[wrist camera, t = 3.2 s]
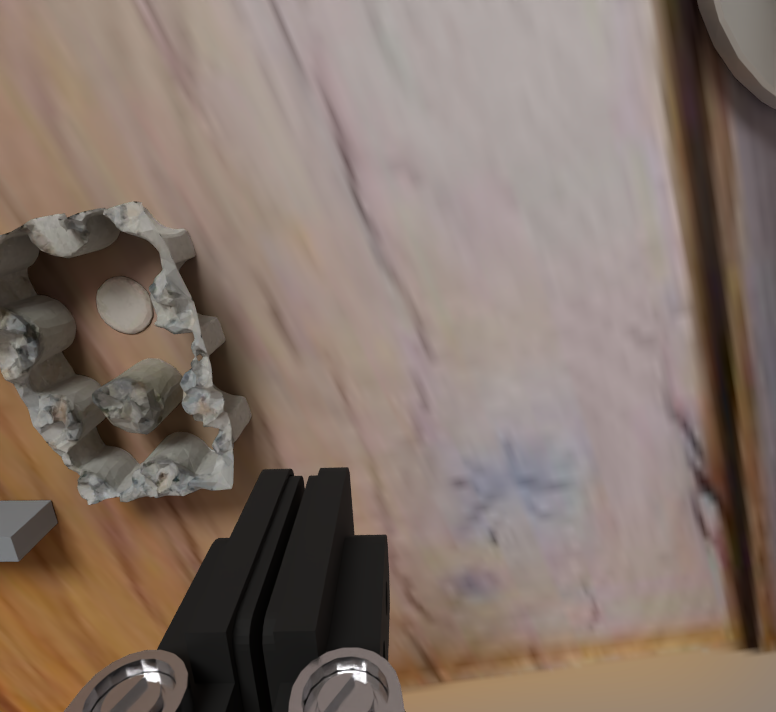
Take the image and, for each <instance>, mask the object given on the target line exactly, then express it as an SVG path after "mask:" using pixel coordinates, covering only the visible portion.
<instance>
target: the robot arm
mask: <svg viewBox="0 0 776 712" xmlns="http://www.w3.org/2000/svg"><path fill="white" fill-rule="evenodd" d="M697 2H698V8H699V11H700V13H701V16H702V18H703V21H704V23H705V26H706V28H707V31H708V33H709V36H710V38H711V41H712V43H713V46H714V47H715V49H716V50H717V52H718V53H719V55H720V56H721V58H722V59H723V61H724V62H725V64H726V65H727V67H728V68H729V69H730V71H731V72H732V74H733V75H734V77H735V78H736V79H737V80H738V81H739V82H740V83H742V84H743V85H744V86H745V87H746V88H747V89H748V90H749V91H750V92H751V93H753V94H754V95H755V96H756V97H757V98H758V99H759V100H760V101H761V102H763V103H765V104H767V105H768V106H770V107H772V108H774V109H776V0H697ZM389 612H390V591H389V562H388V544H387V536H386V535H354V523H353V510H352V498H351V485H350V473H349V469H348V467H344V468H320V470H319V473H318V476H309V478H308V481H307V484H306V488H304V480H303V477H302V476H294V473H293V470H292V469H265V470H263V471H262V472H261V474H260V476H259V478H258V480H257V482H256V484H255V486H254V488H253V490H252V493H251V495H250V497H249V499H248V501H247V503H246V505H245V507H244V509H243V511H242V513H241V515H240V517H239V519H238V522H237V524H236V526H235V528H234V530H233V532H232V534H231V536H230V538H218V539H216V540H215V541H214V542H213V544H212V545H211V547H210V549H209V551H208V553H207V555H206V557H205V559H204V560H203V562H202V564H201V566H200V568H199V570H198V572H197V574H196V576H195V578H194V580H193V582H192V583H191V585H190V587H189V589H188V591H187V593H186V595H185V597H184V599H183V601H182V603H181V605H180V606H179V608H178V610H177V612H176V614H175V616H174V618H173V620H172V622H171V624H170V626H169V628H168V629H167V631H166V633H165V635H164V637H163V639H162V641H161V643H160V645H159V647H158V649H157V650H145V651H141V652H137V653H133V654H129V655H127V656H125V657H123V658H121V659H119V660H117V661H115V662H112V663H111V664H110V665H108V666H107V667H105V668H104V669H103V670H101V671H100V672H98V673H97V674H96V675H95V676H94V677H93V678H92V679H91V680H90V681H89V682H88V683H87V684H86V685H85V686H84V687H83V688H82V689H81V691H80V692H79V693H78V694H77V696H76V697H75V698H74V699H73V701H72V702H71V703H70V704H69V706H68V707H67V708H66V710H65V711H64V712H405V710H404V704H403V698H402V691H401V686H400V683H399V680H398V677H397V674H396V671H395V670H394V669H393V667H392V666H391V665H390V664H389V662H388V646H389Z"/></svg>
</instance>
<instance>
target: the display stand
mask: <svg viewBox="0 0 776 712" xmlns="http://www.w3.org/2000/svg"><path fill="white" fill-rule="evenodd" d="M57 523H58V522H57V519H56V516H55V513H54V509H53V506H52V503H51V500H39V501H0V562H19V561H20V560H21V559H22V558H23V557H24V556H25V555H26V554H27V553H28V552H29V551H30V550H31V549H32V548H33V547H34V546H35V545H36V544H37V543H38V542H39V541H40V540H41V539H42V538H43V537H44V536H45V535H46V534H47V533H48V532H49V531H50V530H51V529H52V528H53V527H54V526H55V525H56V524H57Z"/></svg>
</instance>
